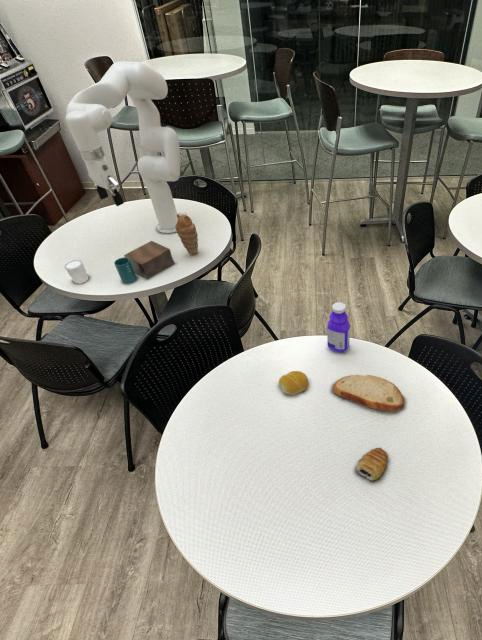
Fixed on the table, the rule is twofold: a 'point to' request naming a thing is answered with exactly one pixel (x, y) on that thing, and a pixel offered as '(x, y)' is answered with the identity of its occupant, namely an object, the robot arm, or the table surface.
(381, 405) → the bread slice
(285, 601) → the table surface
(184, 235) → the brown ridged oblong lump
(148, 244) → the stand
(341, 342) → the bottle
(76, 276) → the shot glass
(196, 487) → the table surface
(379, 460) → the pastry
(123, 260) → the drinking cup
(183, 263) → the table surface
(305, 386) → the bread roll
